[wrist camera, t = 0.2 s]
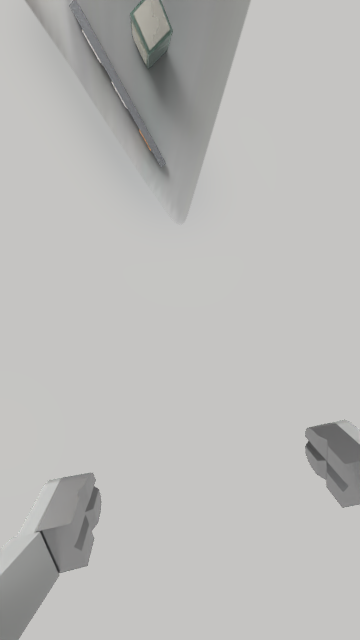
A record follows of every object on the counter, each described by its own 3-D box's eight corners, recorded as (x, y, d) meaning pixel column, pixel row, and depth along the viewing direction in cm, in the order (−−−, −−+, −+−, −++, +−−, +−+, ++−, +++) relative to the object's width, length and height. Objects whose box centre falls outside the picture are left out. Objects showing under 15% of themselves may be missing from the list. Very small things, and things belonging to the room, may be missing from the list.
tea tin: (131, 37, 34) (129, 13, 27) (152, 15, 33) (155, -17, 26) (147, 70, 36) (148, 55, 29) (167, 50, 35) (173, 30, 28)
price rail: (73, 15, 32) (68, 6, 29) (79, 7, 31) (75, -2, 29) (159, 166, 45) (160, 168, 43) (164, 161, 45) (165, 163, 43)
